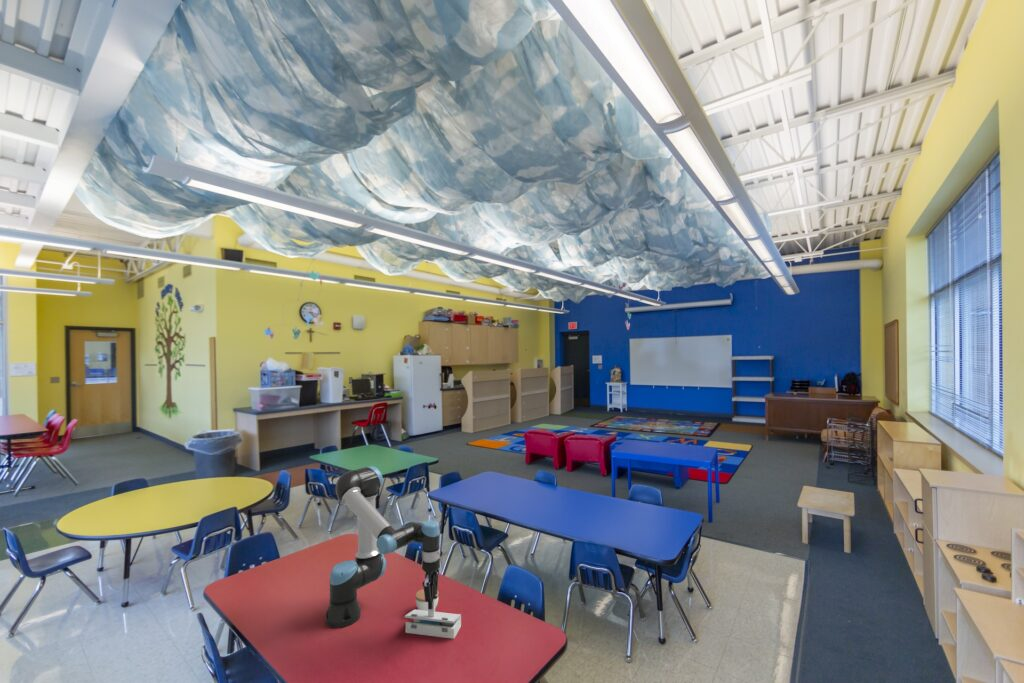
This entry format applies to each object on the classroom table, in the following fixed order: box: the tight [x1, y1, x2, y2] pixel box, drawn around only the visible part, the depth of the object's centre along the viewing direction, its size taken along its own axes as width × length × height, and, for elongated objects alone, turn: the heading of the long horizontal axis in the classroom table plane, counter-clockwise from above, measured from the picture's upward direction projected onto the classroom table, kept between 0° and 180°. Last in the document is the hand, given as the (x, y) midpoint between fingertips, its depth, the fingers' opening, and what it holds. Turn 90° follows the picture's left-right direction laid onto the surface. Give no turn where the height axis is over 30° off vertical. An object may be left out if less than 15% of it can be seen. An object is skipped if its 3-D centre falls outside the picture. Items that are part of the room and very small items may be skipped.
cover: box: [404, 609, 462, 623], centre depth 188 cm, size 22×10×1 cm, turn 78°
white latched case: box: [405, 616, 462, 640], centre depth 188 cm, size 22×10×4 cm, turn 78°
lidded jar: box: [415, 588, 440, 611], centre depth 203 cm, size 11×11×9 cm
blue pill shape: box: [419, 620, 441, 626], centre depth 189 cm, size 10×3×3 cm
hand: (431, 615), depth 186 cm, fingers closed
